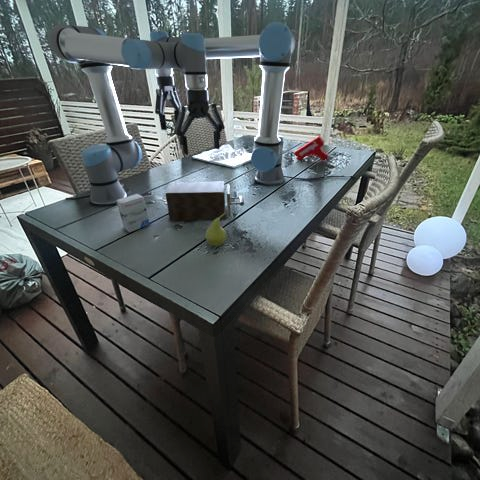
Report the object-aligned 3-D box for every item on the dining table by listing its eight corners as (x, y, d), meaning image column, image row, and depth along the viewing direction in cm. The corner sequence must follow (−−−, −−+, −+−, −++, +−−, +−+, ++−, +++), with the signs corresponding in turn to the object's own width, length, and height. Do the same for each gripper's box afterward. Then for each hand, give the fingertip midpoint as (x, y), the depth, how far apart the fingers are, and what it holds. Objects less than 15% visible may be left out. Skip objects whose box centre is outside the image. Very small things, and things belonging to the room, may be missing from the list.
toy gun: (332, 155, 171) (320, 134, 167) (331, 157, 167) (319, 136, 164) (306, 170, 181) (294, 151, 177) (306, 172, 177) (293, 153, 174)
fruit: (204, 241, 94) (201, 210, 88) (224, 237, 97) (223, 206, 90) (209, 251, 89) (206, 219, 83) (230, 246, 91) (229, 215, 85)
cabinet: (225, 207, 117) (224, 181, 111) (224, 219, 108) (223, 191, 102) (174, 208, 117) (170, 182, 110) (169, 221, 107) (165, 193, 101)
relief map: (234, 168, 162) (234, 159, 159) (192, 158, 180) (191, 150, 177) (259, 157, 180) (259, 149, 178) (219, 149, 198) (218, 142, 195)
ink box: (144, 220, 108) (137, 192, 101) (150, 224, 105) (144, 196, 98) (123, 228, 103) (115, 199, 96) (129, 232, 100) (121, 203, 93)
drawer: (243, 205, 117) (243, 183, 111) (244, 216, 108) (244, 193, 103) (182, 206, 116) (179, 185, 110) (179, 217, 107) (175, 194, 102)
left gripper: (167, 91, 86) (175, 158, 97) (232, 88, 98) (233, 148, 109) (158, 90, 91) (167, 154, 102) (221, 86, 103) (223, 144, 114)
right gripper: (171, 74, 130) (177, 122, 141) (140, 76, 110) (150, 131, 121) (185, 74, 128) (190, 122, 140) (156, 76, 108) (165, 132, 119)
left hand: (201, 151), depth 106 cm, fingers open, 13 cm apart
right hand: (171, 127), depth 130 cm, fingers open, 13 cm apart
